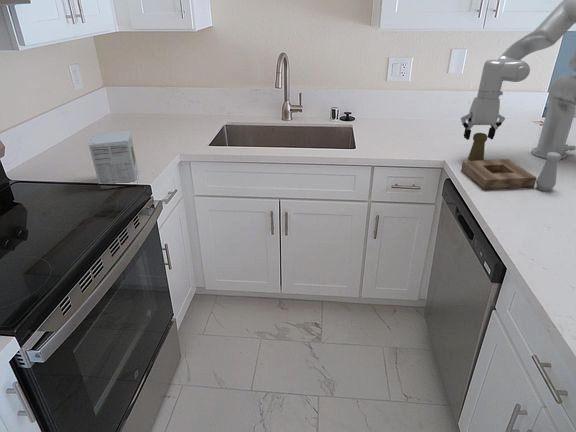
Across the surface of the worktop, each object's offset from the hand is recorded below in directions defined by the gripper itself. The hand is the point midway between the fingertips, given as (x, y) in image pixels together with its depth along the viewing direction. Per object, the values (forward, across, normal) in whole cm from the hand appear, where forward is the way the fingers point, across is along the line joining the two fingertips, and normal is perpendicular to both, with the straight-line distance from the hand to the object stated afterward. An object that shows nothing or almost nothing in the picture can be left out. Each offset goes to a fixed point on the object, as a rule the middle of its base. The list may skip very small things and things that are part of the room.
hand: (478, 138), depth 166 cm
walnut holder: (+9, +1, +20) cm, 22 cm away
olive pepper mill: (+9, -1, 0) cm, 9 cm away
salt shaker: (+9, -11, +30) cm, 33 cm away
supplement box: (+13, +140, +6) cm, 141 cm away
